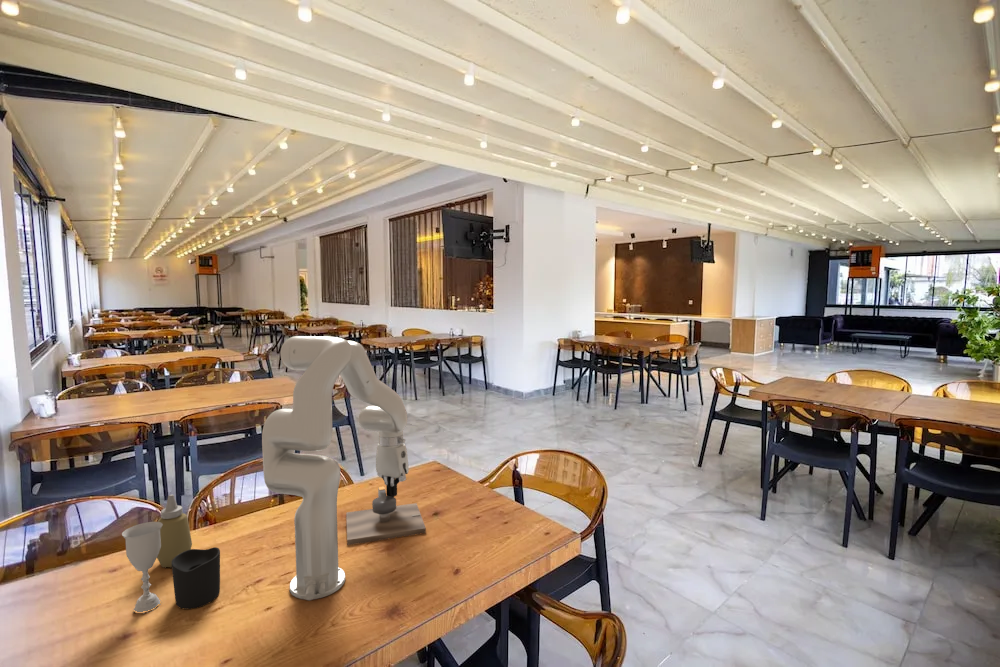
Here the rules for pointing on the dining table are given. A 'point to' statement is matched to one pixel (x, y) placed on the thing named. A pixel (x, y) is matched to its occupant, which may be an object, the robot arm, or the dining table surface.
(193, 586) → the pen holder
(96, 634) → the dining table surface
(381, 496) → the grey knob lever
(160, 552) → the squeeze bottle
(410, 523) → the board
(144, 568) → the chalice
